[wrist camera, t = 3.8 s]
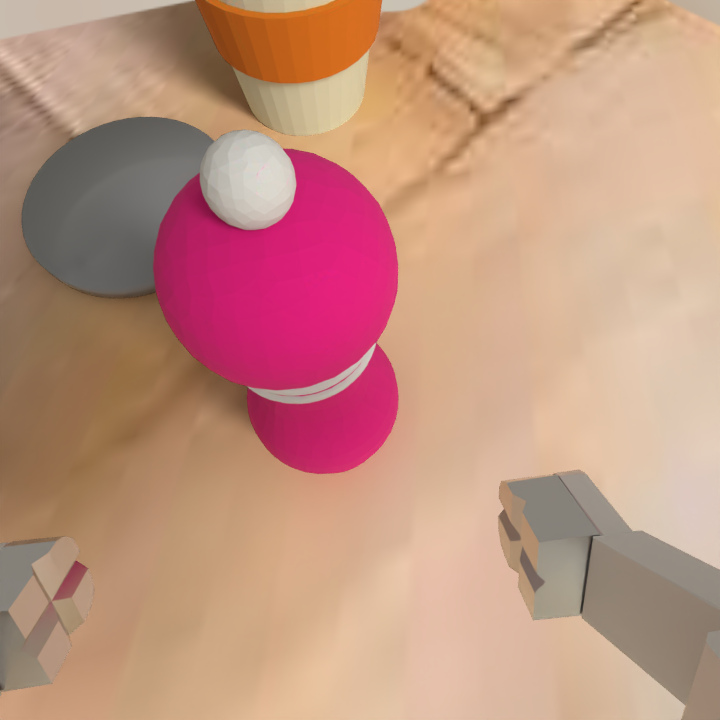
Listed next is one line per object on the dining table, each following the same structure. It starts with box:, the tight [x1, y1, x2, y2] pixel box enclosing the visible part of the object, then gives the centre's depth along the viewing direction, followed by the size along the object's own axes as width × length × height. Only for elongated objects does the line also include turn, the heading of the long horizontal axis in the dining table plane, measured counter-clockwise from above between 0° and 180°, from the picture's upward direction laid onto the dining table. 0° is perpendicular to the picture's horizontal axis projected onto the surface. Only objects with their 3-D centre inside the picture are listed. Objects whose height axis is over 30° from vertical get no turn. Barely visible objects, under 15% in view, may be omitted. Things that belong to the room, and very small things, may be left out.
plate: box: [22, 117, 215, 298], centre depth 32 cm, size 14×14×1 cm
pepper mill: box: [153, 130, 398, 474], centre depth 17 cm, size 7×7×20 cm
